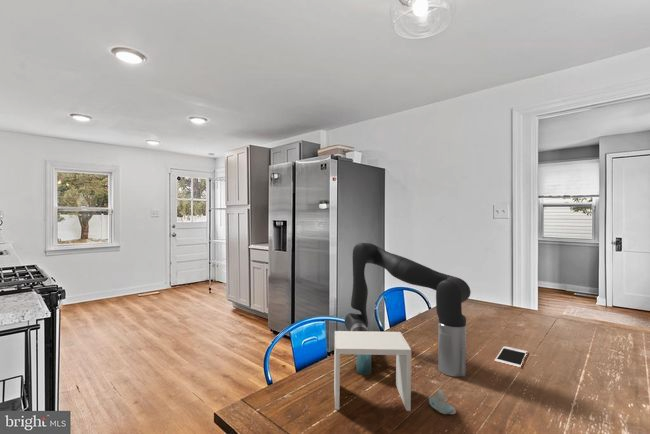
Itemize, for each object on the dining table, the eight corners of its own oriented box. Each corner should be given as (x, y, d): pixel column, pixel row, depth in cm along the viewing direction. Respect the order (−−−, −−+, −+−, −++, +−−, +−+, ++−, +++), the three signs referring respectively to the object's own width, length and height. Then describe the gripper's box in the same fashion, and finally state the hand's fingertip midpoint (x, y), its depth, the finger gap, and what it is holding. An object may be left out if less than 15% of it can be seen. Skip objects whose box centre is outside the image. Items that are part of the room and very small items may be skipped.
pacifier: (439, 401, 98) (425, 406, 94) (440, 380, 98) (426, 385, 95) (460, 414, 91) (446, 420, 88) (461, 392, 91) (447, 397, 88)
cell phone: (528, 353, 132) (528, 351, 132) (520, 369, 119) (520, 367, 119) (503, 347, 138) (503, 345, 138) (494, 362, 124) (494, 360, 124)
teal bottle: (372, 369, 117) (373, 336, 117) (368, 376, 112) (369, 341, 112) (358, 366, 119) (359, 333, 119) (354, 373, 114) (354, 338, 114)
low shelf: (334, 384, 106) (334, 331, 106) (399, 385, 106) (400, 331, 106) (335, 409, 92) (335, 348, 92) (410, 410, 92) (411, 349, 92)
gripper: (342, 325, 130) (344, 341, 113) (377, 326, 129) (385, 342, 113) (342, 344, 130) (344, 363, 113) (377, 345, 129) (384, 363, 113)
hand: (364, 352), depth 113 cm, fingers open, 8 cm apart
